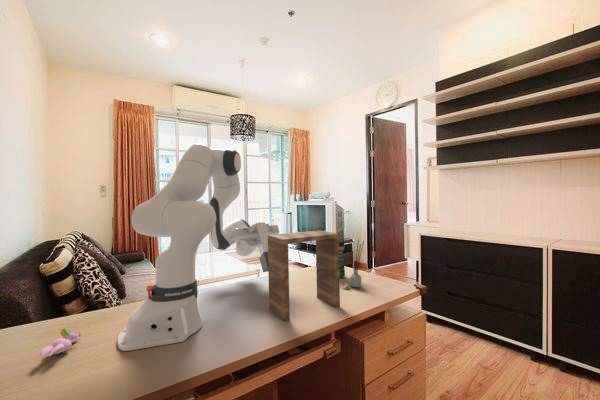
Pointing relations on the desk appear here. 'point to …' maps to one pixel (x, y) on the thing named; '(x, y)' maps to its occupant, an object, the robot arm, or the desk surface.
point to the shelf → (324, 268)
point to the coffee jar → (341, 258)
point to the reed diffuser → (355, 272)
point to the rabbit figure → (61, 343)
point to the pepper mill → (262, 244)
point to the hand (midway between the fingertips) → (261, 225)
